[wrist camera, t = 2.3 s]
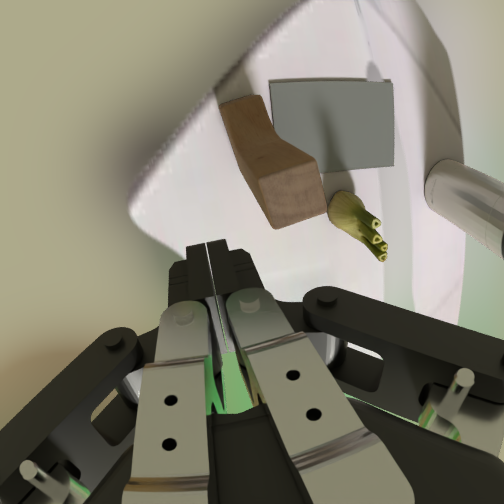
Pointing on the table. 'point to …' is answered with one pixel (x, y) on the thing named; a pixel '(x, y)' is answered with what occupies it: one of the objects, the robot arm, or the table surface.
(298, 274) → the table surface
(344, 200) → the fennel bulb
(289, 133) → the mat
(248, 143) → the wooden block
